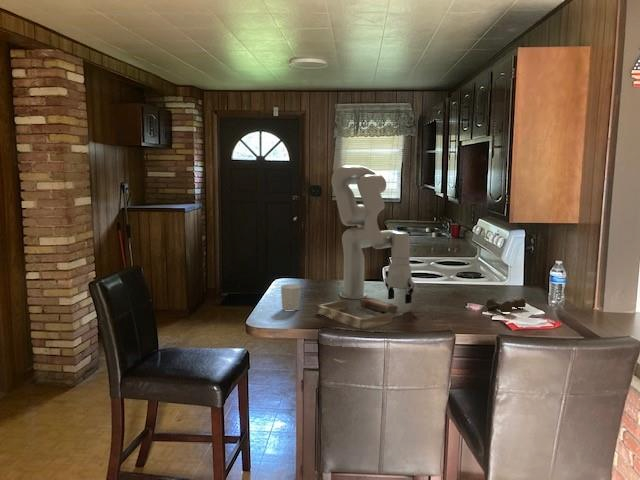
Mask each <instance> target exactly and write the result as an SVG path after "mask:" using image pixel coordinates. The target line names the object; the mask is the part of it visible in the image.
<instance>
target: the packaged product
mask: <svg viewBox="0 0 640 480" xmlns="http://www.w3.org/2000/svg"><path fill="white" fill-rule="evenodd" d="M359 300H360V303H359V306H358V305H357V307H356V310H358V311H362V312H364V313H367V314H369V315H372V316H377V315H381V314H385V313H392V318H396V317H401V316H403V315H404V312H401V311H398V309H399V307H398V306H397V305H395V304H392V303H388V302H386V301H382V300H381V299H380V300H379V299H376V298H373V297H365V298H362V299H359Z"/></svg>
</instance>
